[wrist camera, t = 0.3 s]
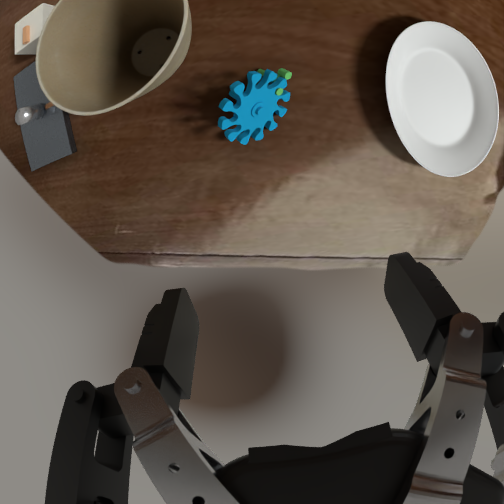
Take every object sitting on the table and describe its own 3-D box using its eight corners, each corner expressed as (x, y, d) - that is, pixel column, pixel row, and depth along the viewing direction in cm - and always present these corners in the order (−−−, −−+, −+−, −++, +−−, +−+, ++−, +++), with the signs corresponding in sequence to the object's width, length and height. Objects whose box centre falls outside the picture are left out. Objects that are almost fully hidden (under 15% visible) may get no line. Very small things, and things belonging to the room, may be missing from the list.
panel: (19, 76, 23) (-5, 79, 18) (59, 49, 23) (36, 47, 18) (36, 168, 33) (15, 181, 28) (77, 151, 33) (55, 162, 28)
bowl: (481, 172, 35) (492, 178, 32) (375, 169, 36) (385, 176, 33) (481, 47, 22) (494, 47, 19) (364, 9, 23) (374, 4, 20)
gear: (251, 158, 34) (207, 123, 25) (226, 136, 36) (181, 102, 27) (308, 100, 31) (280, 50, 22) (278, 82, 33) (246, 37, 24)
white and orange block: (38, 26, 19) (11, 23, 13) (65, 9, 19) (39, 2, 13) (39, 54, 22) (11, 54, 16) (66, 37, 22) (39, 33, 16)
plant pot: (136, -2, 21) (79, -40, 7) (233, 24, 25) (224, -24, 11) (92, 88, 28) (17, 98, 14) (181, 119, 32) (136, 137, 18)
